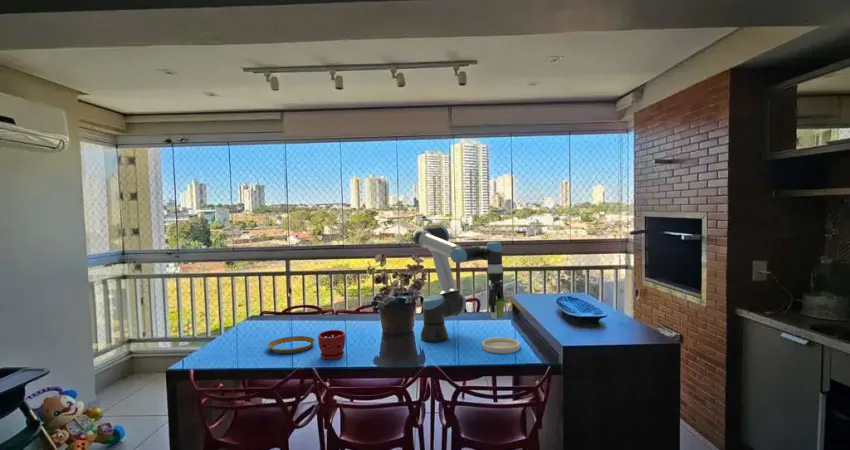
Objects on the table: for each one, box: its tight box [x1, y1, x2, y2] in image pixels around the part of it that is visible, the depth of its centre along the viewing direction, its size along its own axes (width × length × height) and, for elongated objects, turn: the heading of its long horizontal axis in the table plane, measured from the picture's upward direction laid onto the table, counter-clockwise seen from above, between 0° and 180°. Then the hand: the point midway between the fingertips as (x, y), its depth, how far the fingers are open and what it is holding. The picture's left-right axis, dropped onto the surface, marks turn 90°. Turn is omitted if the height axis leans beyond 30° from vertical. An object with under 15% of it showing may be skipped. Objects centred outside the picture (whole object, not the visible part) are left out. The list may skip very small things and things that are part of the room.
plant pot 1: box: [317, 329, 346, 361], centre depth 220 cm, size 13×13×12 cm
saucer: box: [481, 336, 521, 355], centre depth 226 cm, size 19×19×2 cm
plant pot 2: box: [486, 297, 507, 319], centre depth 226 cm, size 9×9×9 cm
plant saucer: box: [267, 335, 316, 354], centre depth 238 cm, size 24×24×3 cm
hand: (497, 316), depth 226 cm, fingers closed on plant pot 2, 8 cm apart
